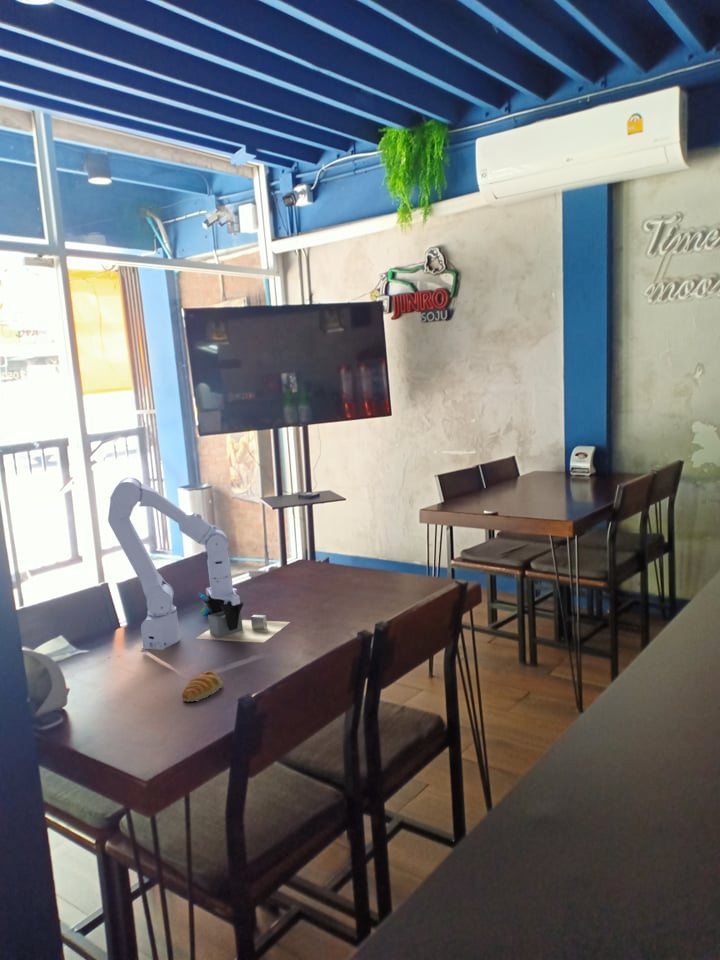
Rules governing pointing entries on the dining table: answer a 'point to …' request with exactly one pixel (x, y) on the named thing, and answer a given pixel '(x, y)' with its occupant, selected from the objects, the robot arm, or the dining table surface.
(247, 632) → the shaft board
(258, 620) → the key shaft
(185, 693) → the pastry
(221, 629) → the grey hollow rectangular block
